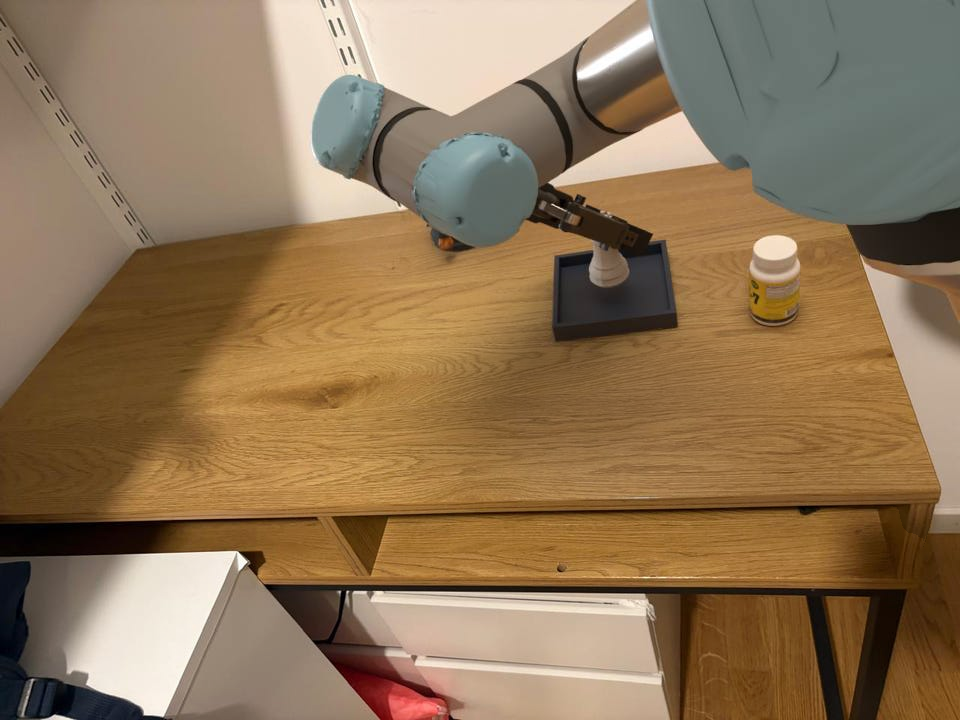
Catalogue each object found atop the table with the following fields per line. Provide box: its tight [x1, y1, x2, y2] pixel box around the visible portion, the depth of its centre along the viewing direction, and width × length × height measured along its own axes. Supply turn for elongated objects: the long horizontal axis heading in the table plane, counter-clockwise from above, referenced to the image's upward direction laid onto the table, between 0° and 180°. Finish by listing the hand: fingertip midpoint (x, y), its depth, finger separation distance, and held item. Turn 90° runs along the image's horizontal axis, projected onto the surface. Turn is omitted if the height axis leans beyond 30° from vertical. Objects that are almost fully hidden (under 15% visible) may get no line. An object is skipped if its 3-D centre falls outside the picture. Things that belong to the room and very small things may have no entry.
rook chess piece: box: [589, 210, 629, 288], centre depth 81 cm, size 4×4×8 cm
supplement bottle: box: [748, 234, 801, 327], centre depth 74 cm, size 5×5×8 cm
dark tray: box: [551, 239, 679, 342], centre depth 85 cm, size 13×13×2 cm
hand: (632, 237), depth 82 cm, fingers closed on rook chess piece, 3 cm apart
